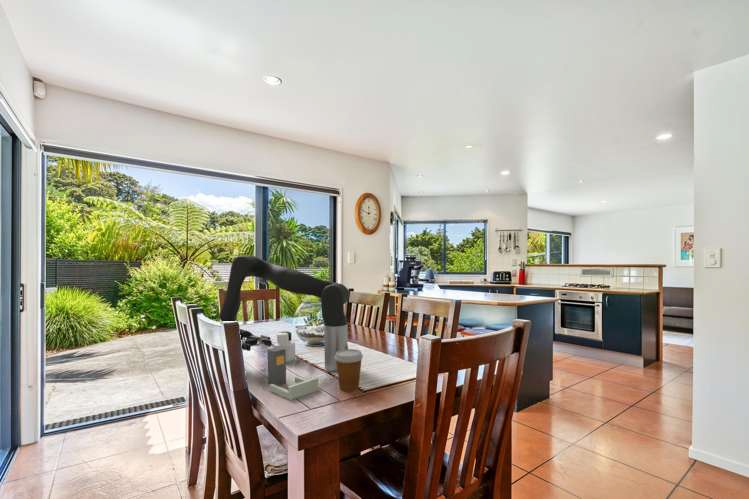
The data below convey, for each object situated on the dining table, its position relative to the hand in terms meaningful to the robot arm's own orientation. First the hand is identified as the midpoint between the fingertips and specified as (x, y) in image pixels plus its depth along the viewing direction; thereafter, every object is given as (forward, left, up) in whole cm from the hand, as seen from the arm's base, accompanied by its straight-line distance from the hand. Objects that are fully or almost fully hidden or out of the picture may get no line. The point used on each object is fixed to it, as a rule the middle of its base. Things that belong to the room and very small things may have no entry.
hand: (260, 345), depth 139 cm
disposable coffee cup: (-32, +18, -12) cm, 38 cm away
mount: (-14, +16, -11) cm, 24 cm away
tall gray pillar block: (-7, +8, -12) cm, 16 cm away
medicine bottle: (-6, -20, -12) cm, 24 cm away
